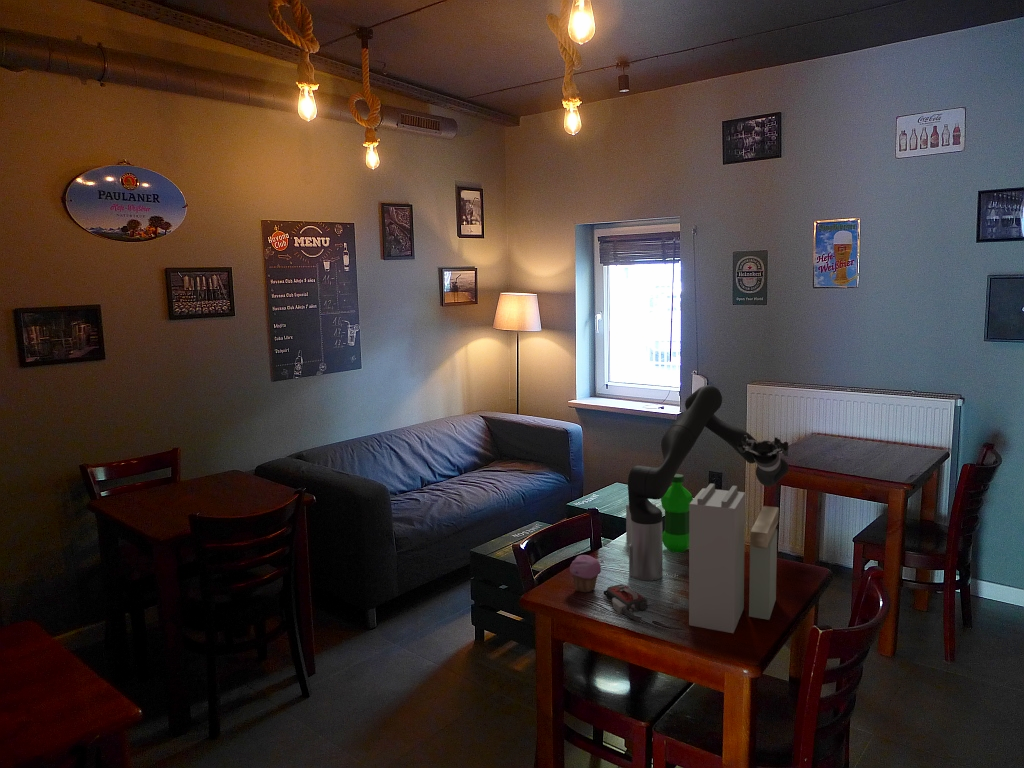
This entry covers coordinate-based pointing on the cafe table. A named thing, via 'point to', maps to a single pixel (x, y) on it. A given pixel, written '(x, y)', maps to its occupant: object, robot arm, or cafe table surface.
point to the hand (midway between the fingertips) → (760, 439)
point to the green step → (763, 579)
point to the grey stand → (716, 558)
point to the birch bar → (764, 527)
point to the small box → (628, 524)
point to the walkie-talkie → (626, 600)
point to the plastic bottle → (676, 516)
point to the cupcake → (585, 572)
